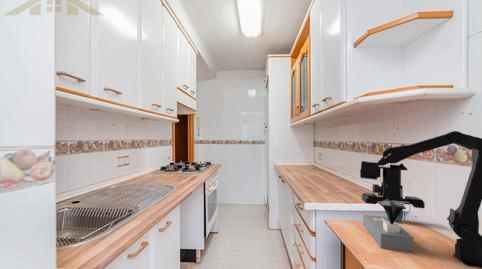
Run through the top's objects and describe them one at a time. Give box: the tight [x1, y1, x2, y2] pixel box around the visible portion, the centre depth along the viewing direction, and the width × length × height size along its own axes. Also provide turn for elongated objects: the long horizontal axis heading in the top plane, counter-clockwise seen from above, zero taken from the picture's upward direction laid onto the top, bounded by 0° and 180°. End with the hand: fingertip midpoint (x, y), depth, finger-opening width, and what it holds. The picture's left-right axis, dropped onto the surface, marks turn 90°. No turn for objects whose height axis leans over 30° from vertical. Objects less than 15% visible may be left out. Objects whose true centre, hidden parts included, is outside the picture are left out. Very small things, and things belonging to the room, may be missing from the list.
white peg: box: [383, 221, 401, 233], centre depth 83 cm, size 4×4×5 cm
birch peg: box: [373, 217, 386, 221], centre depth 94 cm, size 4×4×5 cm
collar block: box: [362, 214, 415, 253], centre depth 88 cm, size 10×22×5 cm, turn 166°
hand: (391, 223), depth 83 cm, fingers closed, pressing on white peg
